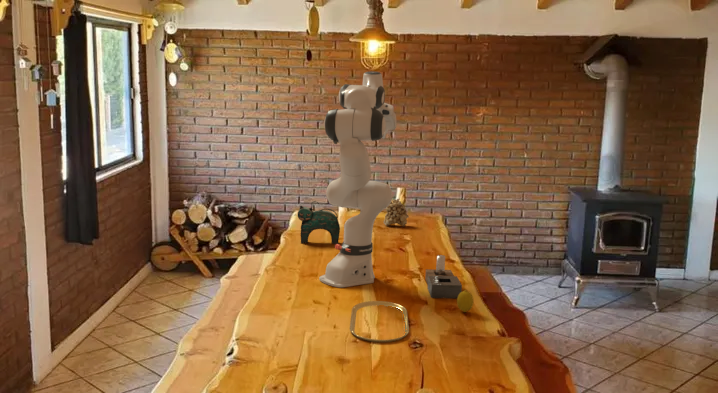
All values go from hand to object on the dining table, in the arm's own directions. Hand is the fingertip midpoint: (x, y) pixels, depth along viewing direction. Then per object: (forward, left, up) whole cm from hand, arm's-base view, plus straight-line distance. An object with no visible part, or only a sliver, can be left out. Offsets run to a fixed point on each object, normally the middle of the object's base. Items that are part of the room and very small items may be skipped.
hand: (373, 137), depth 298 cm
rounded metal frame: (-55, -65, -53) cm, 100 cm away
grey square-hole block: (-15, -58, -52) cm, 79 cm away
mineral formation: (+47, +31, -52) cm, 77 cm away
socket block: (-7, -49, -52) cm, 72 cm away
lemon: (-25, -76, -52) cm, 95 cm away
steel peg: (-7, -49, -52) cm, 72 cm away
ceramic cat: (-8, +27, -52) cm, 59 cm away
